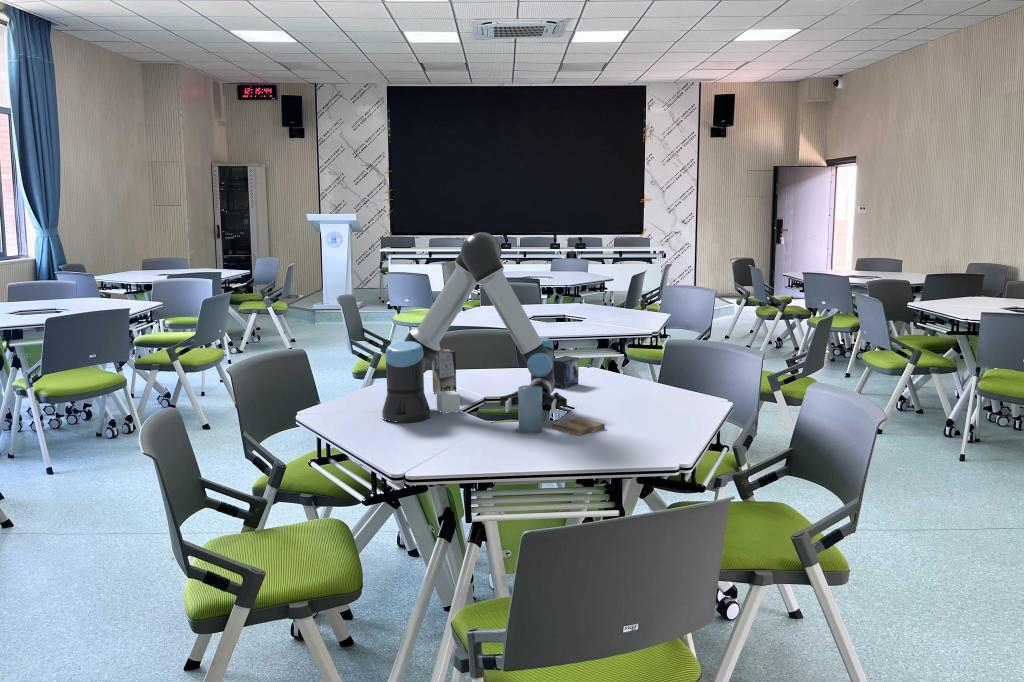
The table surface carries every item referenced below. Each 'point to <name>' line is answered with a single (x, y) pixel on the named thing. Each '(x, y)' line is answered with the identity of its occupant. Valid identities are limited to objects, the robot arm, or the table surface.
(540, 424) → the grey cylinder
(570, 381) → the small box
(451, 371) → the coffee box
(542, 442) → the table surface
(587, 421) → the board
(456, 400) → the grey cube
